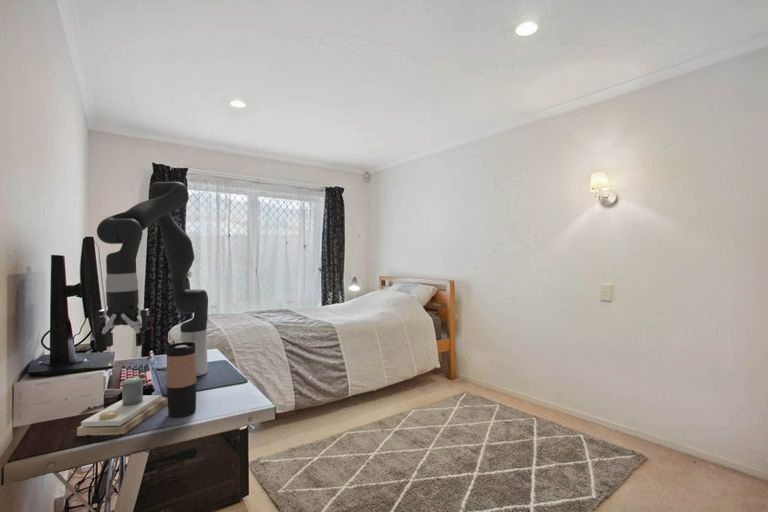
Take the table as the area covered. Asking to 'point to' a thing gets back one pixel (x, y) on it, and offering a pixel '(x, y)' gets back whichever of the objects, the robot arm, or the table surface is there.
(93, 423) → the plate
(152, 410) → the oak base
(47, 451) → the table surface
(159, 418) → the table surface
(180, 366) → the travel mug
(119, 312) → the robot arm
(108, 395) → the caliper
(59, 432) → the table surface
